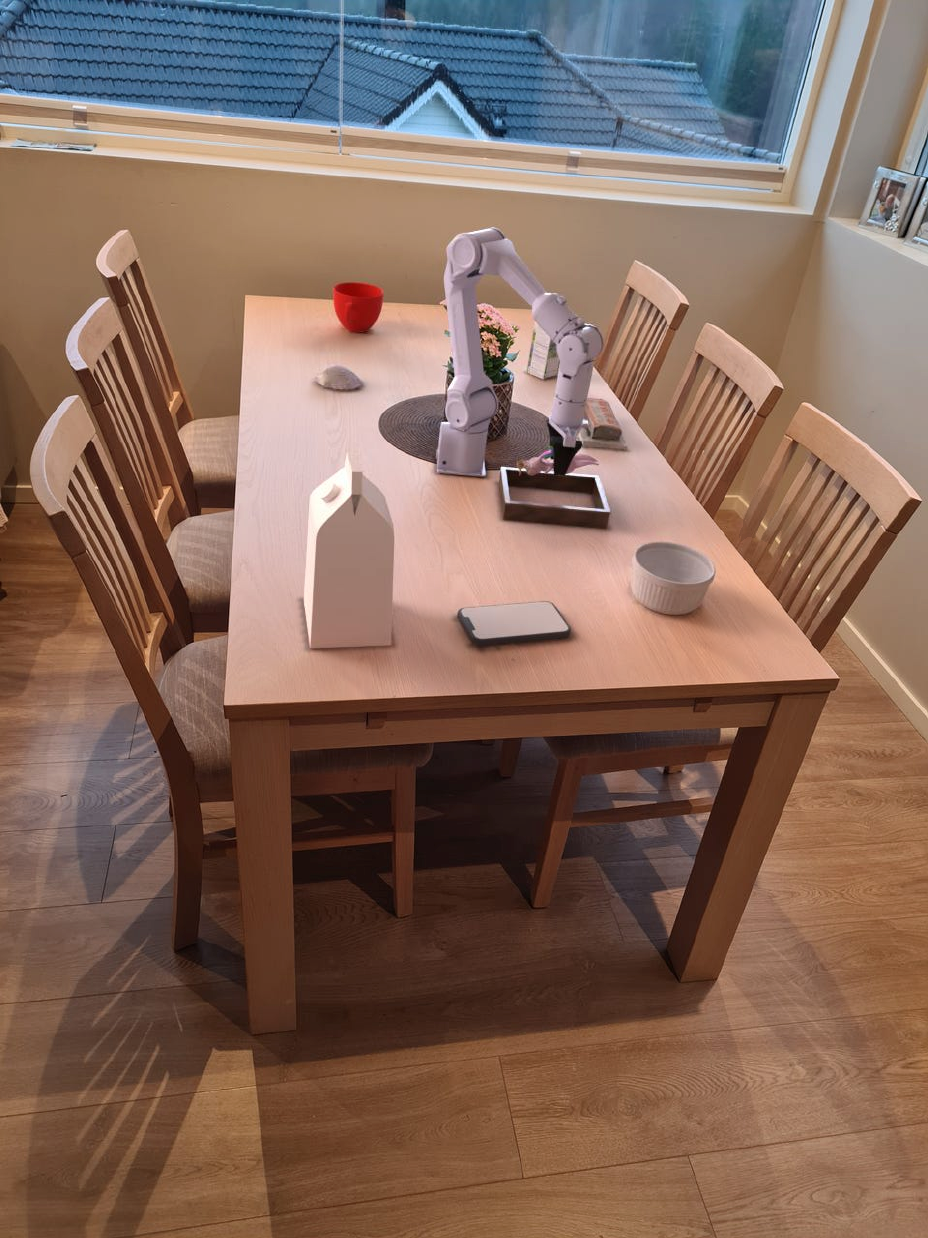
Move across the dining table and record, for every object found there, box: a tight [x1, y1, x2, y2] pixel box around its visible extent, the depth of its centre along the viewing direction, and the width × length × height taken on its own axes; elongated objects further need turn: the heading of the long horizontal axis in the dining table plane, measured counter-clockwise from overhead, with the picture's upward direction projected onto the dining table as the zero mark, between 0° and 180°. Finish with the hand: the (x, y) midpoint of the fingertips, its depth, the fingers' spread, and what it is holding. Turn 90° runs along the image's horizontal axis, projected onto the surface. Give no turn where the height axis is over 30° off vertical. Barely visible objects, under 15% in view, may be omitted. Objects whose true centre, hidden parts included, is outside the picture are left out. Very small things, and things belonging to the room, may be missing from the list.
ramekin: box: [630, 540, 716, 616], centre depth 152 cm, size 13×13×7 cm
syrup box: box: [526, 320, 560, 380], centre depth 230 cm, size 6×6×14 cm
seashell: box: [314, 364, 362, 391], centre depth 213 cm, size 10×6×10 cm
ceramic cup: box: [332, 281, 385, 333], centre depth 243 cm, size 13×17×10 cm
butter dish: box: [577, 397, 628, 451], centre depth 206 cm, size 18×5×10 cm
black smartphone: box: [456, 600, 572, 648], centre depth 141 cm, size 9×2×16 cm
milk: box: [303, 451, 395, 649], centre depth 131 cm, size 12×12×26 cm
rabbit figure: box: [516, 445, 600, 475], centre depth 172 cm, size 6×6×15 cm
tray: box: [498, 466, 612, 530], centre depth 175 cm, size 19×15×4 cm
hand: (557, 466), depth 172 cm, fingers closed on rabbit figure, 5 cm apart
